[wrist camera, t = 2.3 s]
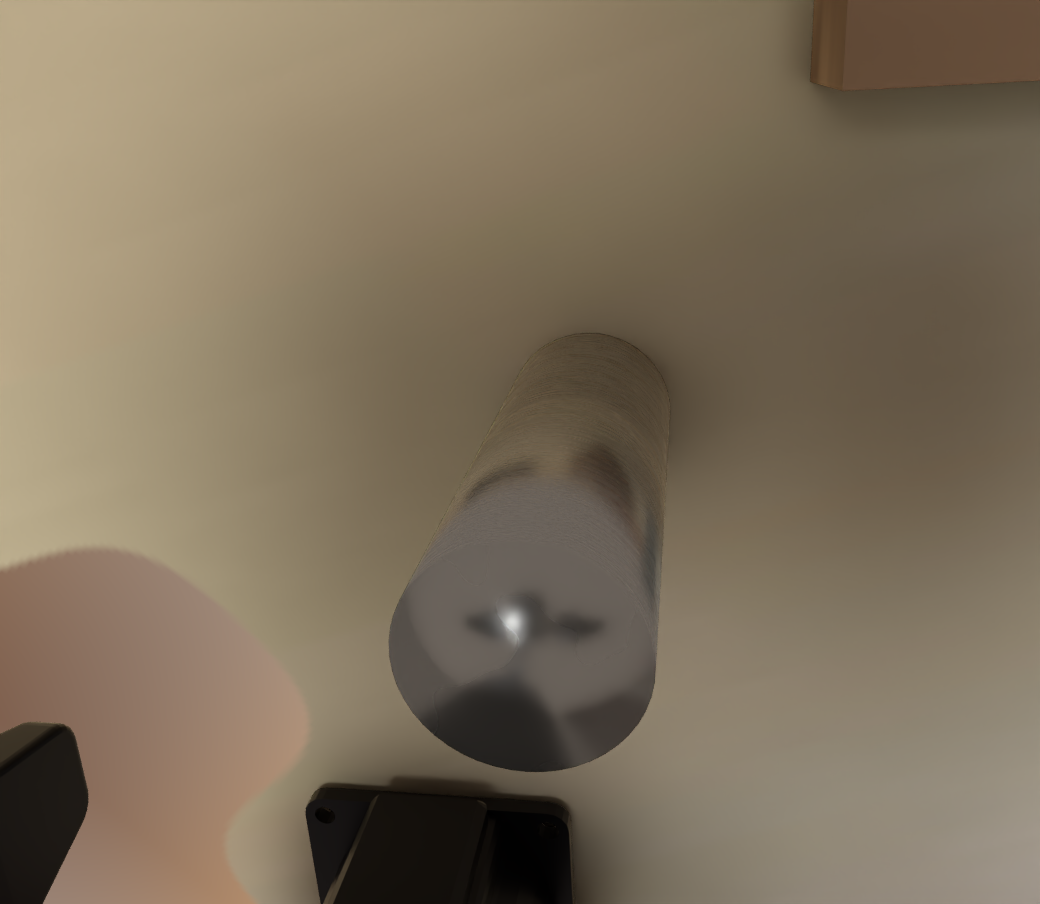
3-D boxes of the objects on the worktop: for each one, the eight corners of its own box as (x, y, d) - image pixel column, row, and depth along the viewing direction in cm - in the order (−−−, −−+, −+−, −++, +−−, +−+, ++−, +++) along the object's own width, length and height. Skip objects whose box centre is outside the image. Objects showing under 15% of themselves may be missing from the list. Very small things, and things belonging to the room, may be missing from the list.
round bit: (670, 484, 20) (656, 779, 12) (516, 482, 21) (402, 764, 13) (669, 332, 19) (654, 543, 11) (506, 334, 20) (375, 538, 12)
